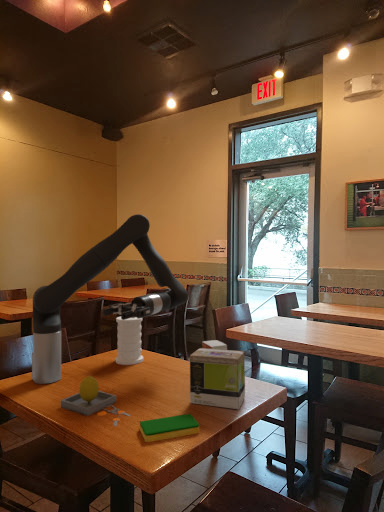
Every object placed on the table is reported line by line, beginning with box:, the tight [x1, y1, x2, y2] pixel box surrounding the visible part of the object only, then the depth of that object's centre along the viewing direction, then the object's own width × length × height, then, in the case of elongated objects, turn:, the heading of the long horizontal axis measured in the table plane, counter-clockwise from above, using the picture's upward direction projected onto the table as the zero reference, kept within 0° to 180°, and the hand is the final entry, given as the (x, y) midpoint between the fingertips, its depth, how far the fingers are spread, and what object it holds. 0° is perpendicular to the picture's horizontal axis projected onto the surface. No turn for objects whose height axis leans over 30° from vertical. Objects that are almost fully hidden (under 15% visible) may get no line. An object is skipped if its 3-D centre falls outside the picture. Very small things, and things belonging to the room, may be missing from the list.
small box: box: [201, 339, 228, 350], centre depth 130 cm, size 8×6×13 cm
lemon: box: [79, 375, 100, 403], centre depth 108 cm, size 6×6×8 cm
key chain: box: [96, 404, 132, 427], centre depth 101 cm, size 13×7×1 cm, turn 41°
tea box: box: [189, 347, 246, 410], centre depth 111 cm, size 15×10×15 cm
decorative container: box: [114, 316, 144, 366], centre depth 152 cm, size 12×12×18 cm
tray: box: [60, 390, 117, 417], centre depth 108 cm, size 11×11×2 cm
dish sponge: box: [139, 413, 200, 443], centre depth 92 cm, size 7×14×2 cm, turn 110°
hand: (112, 314), depth 117 cm, fingers open, 8 cm apart
